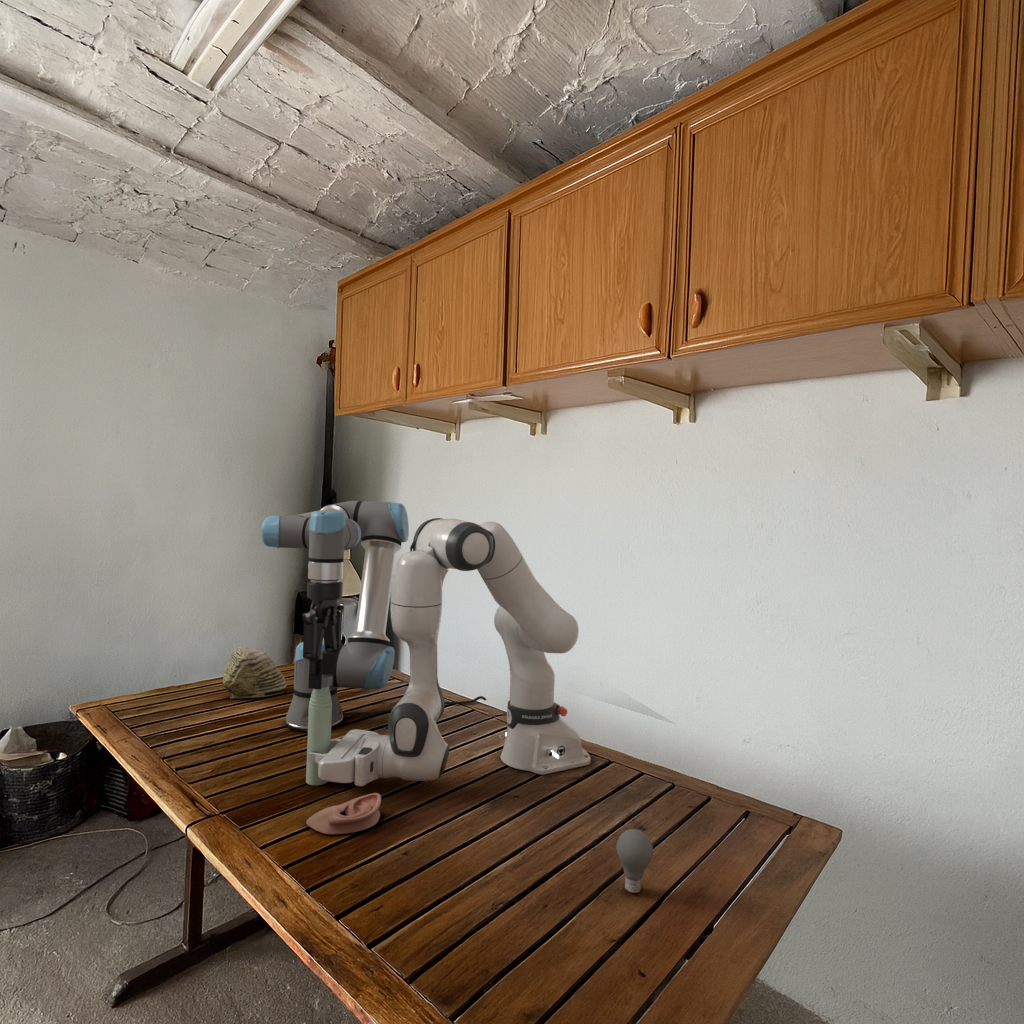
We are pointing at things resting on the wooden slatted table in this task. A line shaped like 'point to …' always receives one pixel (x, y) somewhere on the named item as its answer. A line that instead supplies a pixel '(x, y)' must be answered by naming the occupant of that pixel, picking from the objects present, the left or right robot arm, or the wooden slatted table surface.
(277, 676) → the fossil
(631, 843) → the light bulb
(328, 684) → the cap
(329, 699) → the bottle
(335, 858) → the wooden slatted table surface
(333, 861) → the wooden slatted table surface
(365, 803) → the anatomical model
